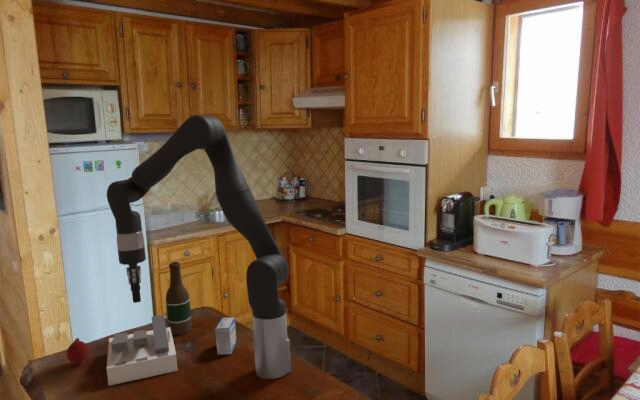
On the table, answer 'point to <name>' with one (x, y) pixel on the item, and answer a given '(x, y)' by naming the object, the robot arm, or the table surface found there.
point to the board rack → (139, 360)
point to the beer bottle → (178, 303)
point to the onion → (77, 351)
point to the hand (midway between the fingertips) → (137, 301)
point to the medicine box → (225, 336)
